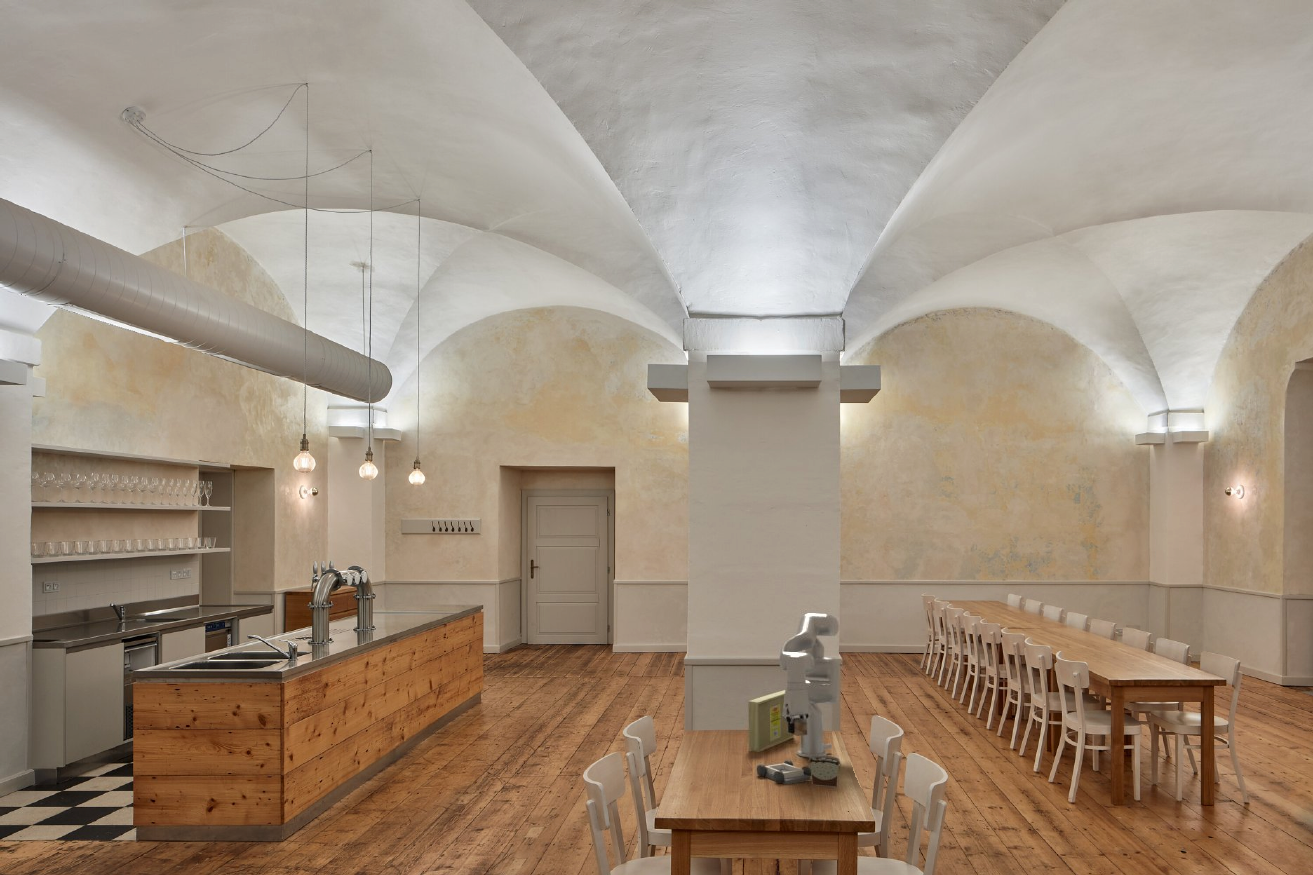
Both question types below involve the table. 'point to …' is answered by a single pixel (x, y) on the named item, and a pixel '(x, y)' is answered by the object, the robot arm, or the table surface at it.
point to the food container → (824, 770)
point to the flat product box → (767, 722)
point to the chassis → (785, 773)
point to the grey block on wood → (798, 726)
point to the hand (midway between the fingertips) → (796, 731)
